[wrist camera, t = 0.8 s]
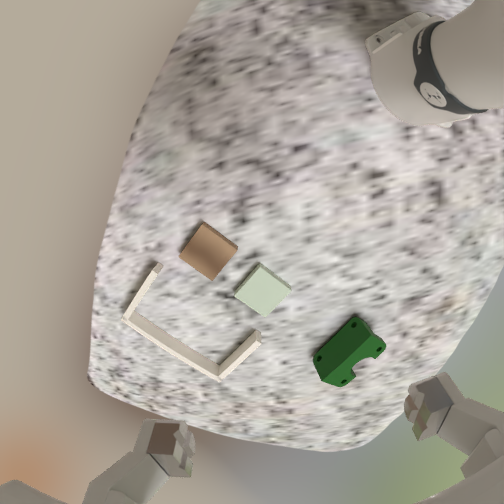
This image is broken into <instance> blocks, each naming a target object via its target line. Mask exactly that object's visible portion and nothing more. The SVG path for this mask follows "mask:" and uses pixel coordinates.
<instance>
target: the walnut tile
mask: <svg viewBox="0 0 504 504" xmlns="http://www.w3.org/2000/svg"><path fill="white" fill-rule="evenodd" d="M237 249H238V246H236V245H235V244H234V243H232V242H231V241H230V240H228V239H227V238H226V237H224V236H223V235H222V234H220V233H219V232H218V231H216V230H215V229H214V228H212V227H211V226H209V225H208V224H207V223H205V222H203V224H202V225H201V226H200V228H199V229H198V230H197V232H196V233H195V234H194V236H193V237H192V239H191V240H190V241H189V243H188V244H187V245H186V247H185V248H184V250H183V251H182V252H181V254H180V255H179V258H181V259H182V260H184V261H185V262H186V263H188V264H189V265H191V266H192V267H193V268H195V269H196V270H198V271H199V272H200V273H202V274H203V275H205V276H206V277H207V278H209V279H210V280H212V281H213V279H214V278H215V277H216V276H217V275H218V273H219V272H220V271H221V270H222V268H223V267H224V266H225V265H226V263H227V262H228V261H229V260H230V259H231V257H232V256H233V255H234V254H235V252H236V251H237Z"/></svg>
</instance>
